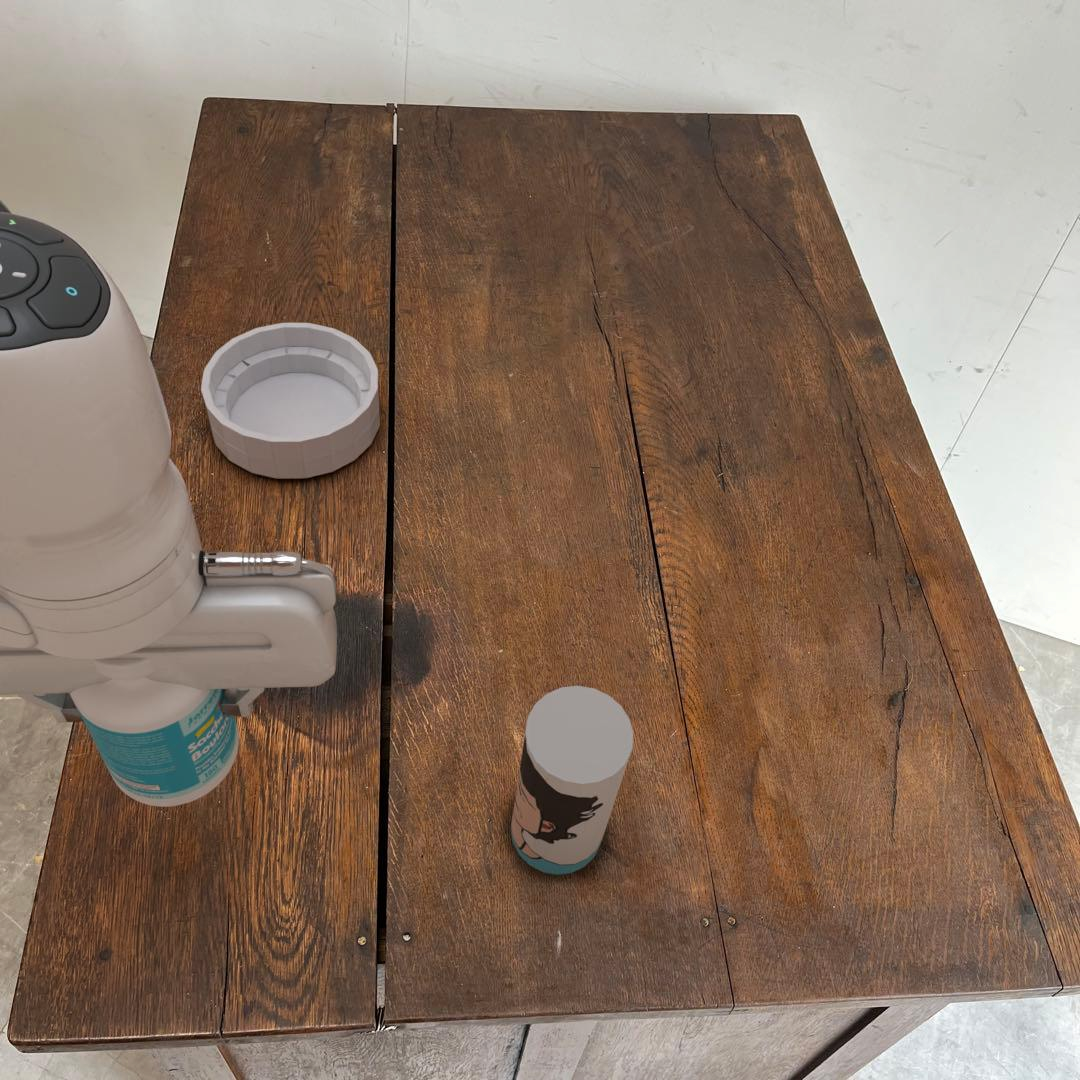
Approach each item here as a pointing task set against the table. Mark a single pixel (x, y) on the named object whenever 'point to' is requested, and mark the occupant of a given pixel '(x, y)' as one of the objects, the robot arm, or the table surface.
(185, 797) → the pill bottle
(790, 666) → the table surface
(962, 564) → the table surface
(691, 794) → the table surface
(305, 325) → the faceted round dish
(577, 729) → the printed label cylinder
